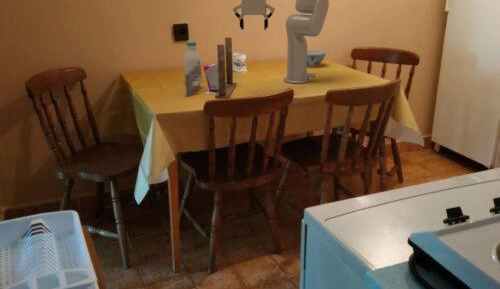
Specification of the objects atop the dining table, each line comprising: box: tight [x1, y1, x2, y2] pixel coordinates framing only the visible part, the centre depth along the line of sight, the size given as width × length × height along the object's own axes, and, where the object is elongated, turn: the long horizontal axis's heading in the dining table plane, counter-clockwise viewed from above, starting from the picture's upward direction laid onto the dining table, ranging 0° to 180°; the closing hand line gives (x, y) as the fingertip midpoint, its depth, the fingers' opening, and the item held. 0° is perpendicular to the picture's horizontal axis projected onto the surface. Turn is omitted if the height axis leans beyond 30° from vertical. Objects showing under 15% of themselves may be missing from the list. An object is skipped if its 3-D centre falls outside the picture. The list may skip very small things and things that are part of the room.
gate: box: [214, 37, 238, 99], centre depth 198 cm, size 6×24×22 cm, turn 174°
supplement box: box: [203, 62, 219, 91], centre depth 200 cm, size 6×6×12 cm
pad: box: [204, 87, 218, 95], centre depth 202 cm, size 10×10×1 cm
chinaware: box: [307, 49, 326, 68], centre depth 254 cm, size 15×15×8 cm
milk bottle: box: [183, 40, 202, 82], centre depth 216 cm, size 8×8×20 cm
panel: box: [184, 66, 204, 98], centre depth 202 cm, size 4×20×10 cm, turn 174°
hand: (253, 29), depth 188 cm, fingers open, 9 cm apart
